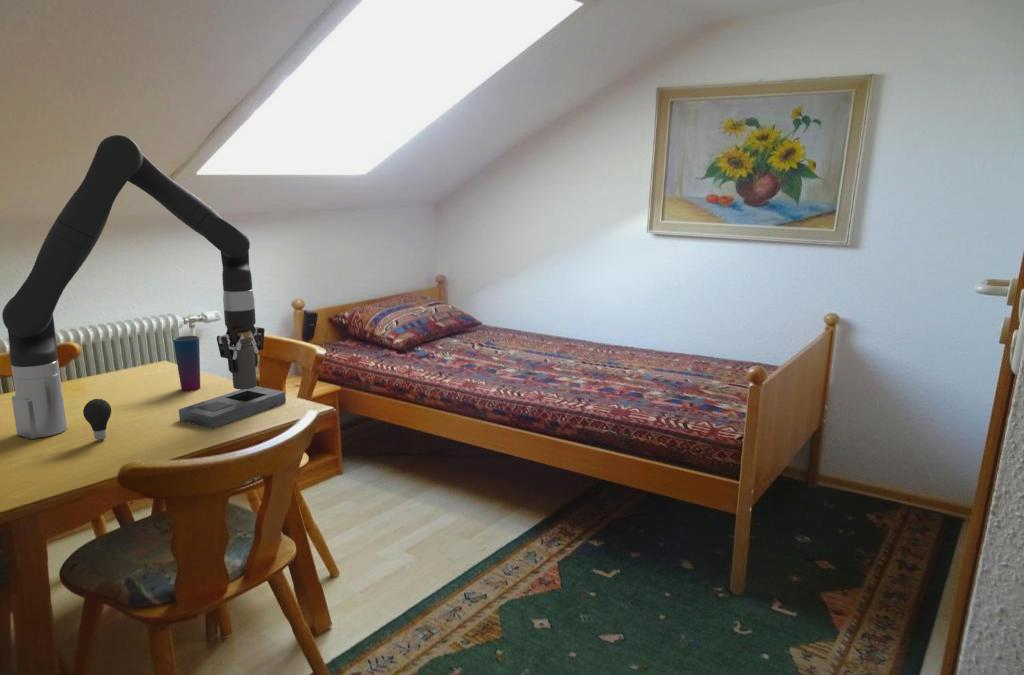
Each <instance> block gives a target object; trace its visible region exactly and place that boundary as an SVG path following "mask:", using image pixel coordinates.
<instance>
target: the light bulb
mask: <svg viewBox="0 0 1024 675" xmlns="http://www.w3.org/2000/svg"><path fill="white" fill-rule="evenodd" d="M82 413H83V416H84V419H85V420H86V421H87V422H88V424H89V425H90V426H91V430H92V431H93V437H94V440H98V442H102V441H104V439H106V438H107V427H108V426H107V424H108V422H109V420H110V418H111V415H112V407H111V405H110V403H109V402H108V401H106V400H105V399H102V398H93V399H91V400H89V401H88V402H87V403H86V404H85V405H84V407H83V412H82Z"/></svg>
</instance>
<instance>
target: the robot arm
mask: <svg viewBox="0 0 1024 675" xmlns="http://www.w3.org/2000/svg"><path fill="white" fill-rule="evenodd" d="M92 158H93V159H92V161H91V163H90V166H89V168H88V171H87V173H86V174H85V176H84V178H83V181H81V183H80V185H79V187H78V188H77V190H75V192H74V193H73V194H72V196H71V197H70V198H69V199H68V201H67V203H66V204H65V205H64V206H63V208H62V210H61V212H59V214H58V216H57V217H56V219H55V221H54V222H53V224H52V226H51V227H50V229H49V231H48V232H47V235H46V236H45V238H44V241H43V243H42V245H41V247H40V249H39V252H38V254H37V256H36V259H35V261H34V265H33V266H32V268H31V271H30V272H29V274H28V277H26V279H25V281H24V283H23V284H22V285H21V286H20V287H19V289H18V290H17V291H16V292H15V294H14V295H13V297H11V298H10V299H9V300H8V301H7V302H6V304H5V305H4V308H3V310H2V314H1V316H2V317H1V318H2V319H1V320H2V321H3V324H4V326H5V328H6V329H7V335H8V344H9V345H8V346H9V361H10V367H11V374H12V381H13V387H14V395H12V396H11V401H12V402H11V403H12V408H13V415H14V416H13V417H14V422H15V428H16V435H17V436H20V437H23V438H27V439H28V440H29V439H31V440H33V439H37V438H45V437H50V436H55V435H57V434H58V435H59V434H60V433H64V432H65V431H67V428H68V426H67V417H66V411H65V410H66V409H65V403H64V396H63V394H64V393H63V387H62V382H61V374H60V373H61V372H60V365H59V359H58V358H59V357H58V349H57V348H58V346H57V337H56V328H55V320H54V311H55V309H56V306H57V304H58V302H59V300H60V298H61V296H62V294H63V292H64V290H65V289H66V287H67V286H68V284H69V283H70V281H71V280H72V279H73V278H74V277H75V275H76V274H77V273H78V272H79V270H80V268H81V267H82V266H83V264H84V262H85V261H86V260H87V259H88V257H89V256H90V254H91V252H92V251H93V249H94V248H95V246H96V244H97V242H98V240H99V239H100V236H101V235H102V234H103V230H104V228H105V226H106V224H107V221H108V219H109V216H110V212H112V211H111V210H112V208H113V205H114V203H115V200H116V198H117V197H118V195H119V194H120V192H121V191H122V189H123V188H124V186H125V185H126V183H127V182H129V183H130V184H132V185H134V186H136V187H137V188H138V189H141V191H144V192H145V193H146V194H147V195H149V196H151V197H152V198H153V199H155V201H156V202H158V203H159V204H160V205H161V206H163V207H164V208H165V209H166V210H167V211H168V212H170V214H172V215H173V216H175V217H176V218H177V219H178V220H180V222H182V223H184V224H185V226H187V227H189V228H190V229H191V230H193V231H194V232H196V233H197V234H198V235H201V236H202V237H203V238H205V239H206V240H207V241H208V242H209V243H210V244H211V245H213V246H214V247H215V248H216V249H218V250H219V251H220V256H221V263H222V264H221V265H222V273H221V274H222V276H221V277H222V290H223V295H222V302H223V316H224V319H223V320H224V325H225V328H226V333H225V334H223V335H217V336H216V342H217V346H218V350H219V355H220V357H221V358H223V359H227V365H228V371H229V372H230V373H231V374H232V373H238V365H237V359H236V358H237V352H238V351H239V350H240V349H241V345H242V344H241V343H240V340H243V339H244V337H243V335H242V334H241V335H240V336H238V333H240V332H245V331H249V330H250V331H251V332H250V336H249V338H252V341H251V342H250V345H252V346H253V347H254V353H255V367H256V368H257V367H258V364H259V362H258V360H259V358H258V354H259V352H260V351H263V350H264V346H265V345H264V344H265V332H266V330H265V328H264V327H261V326H260V327H259V326H255V324H256V320H257V319H256V306H255V297H254V292H253V283H252V282H253V278H252V273H251V268H250V253H249V252H250V247H251V246H250V245H251V243H250V240H249V238H248V236H247V235H246V233H245V232H244V231H243V230H241V229H238V228H237V227H235V226H234V225H233V224H232V223H230V222H228V221H227V220H226V219H224V218H223V217H222V216H221V215H220V214H219V213H218V212H217V211H216V210H215V209H213V208H212V207H211V206H210V205H208V204H207V203H206V202H205V201H203V200H202V199H201V198H199V197H198V196H196V195H195V194H194V193H192V192H191V191H190V190H188V189H186V188H185V187H183V186H182V185H180V184H179V183H177V182H176V181H174V180H173V179H172V178H170V177H169V176H168V175H166V174H165V173H164V172H162V171H161V170H160V169H159V168H158V167H157V166H156V165H154V164H153V162H151V161H150V160H149V159H148V157H147V156H146V155H145V154H144V153H143V152H142V151H141V148H140V147H139V145H138V144H137V143H136V142H135V141H134V140H133V139H131V138H130V137H128V136H125V135H120V134H114V135H109V136H107V137H105V138H104V139H103V140H102V141H101V142H100V143H99V145H98V147H97V148H96V151H95V154H94V156H93V157H92ZM237 340H238V341H237ZM233 346H236V347H233ZM232 350H233V354H232Z"/></svg>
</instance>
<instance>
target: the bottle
mask: <svg viewBox="0 0 1024 675" xmlns="http://www.w3.org/2000/svg"><path fill="white" fill-rule="evenodd" d="M250 332H251V331H250V330H249V331H245V332H240V333H238V336H240V335H241V334H242V335H243V337H244V339H243V340H240V343H241V344H242V345H241V349H240V350H239V351H238V352H237V358H236V359H237V365H238V373H231V374H232V386H233V389H235V390H241V389H251V388H254V387H256V386H257V370H256V368H257V367H255V353H254V347H253V346H252V345H250V342H251V341H252V338H249V336H250ZM237 341H238V340H237ZM233 347H236V346H234V345H233ZM232 354H233V350H232Z"/></svg>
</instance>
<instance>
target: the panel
mask: <svg viewBox="0 0 1024 675" xmlns="http://www.w3.org/2000/svg"><path fill="white" fill-rule="evenodd" d="M286 402H287V400H286V391H283V390H279V389H272V388H268V387H262V386H259V385H258V386H256V387H254V388H251V389H237V390H236V391H232V392H228V393H225V394H223V395H220V396H217V397H213V398H210V399H206V400H204V401H200V402H197V403H194V404H191V405H188V406H185V407H181V408H179V409H178V416H179V421H180V422H184V423H188V424H193V425H197V426H201V427H204V428H208V429H211V430H213V429H217V428H219V427H222V426H225V425H227V424H229V423H230V424H231V423H232V422H236V421H238V420H241V419H243V418H247V417H249V416H253V415H255V414H257V413H260V412H263V411H265V410H268V409H272V408H274V407H277V406H280V405H282V404H286Z"/></svg>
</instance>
